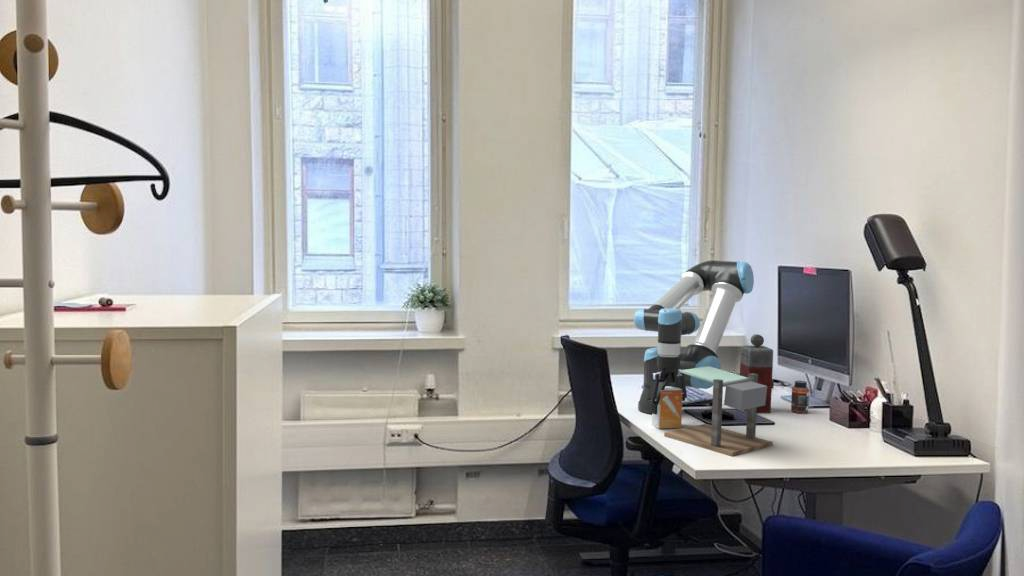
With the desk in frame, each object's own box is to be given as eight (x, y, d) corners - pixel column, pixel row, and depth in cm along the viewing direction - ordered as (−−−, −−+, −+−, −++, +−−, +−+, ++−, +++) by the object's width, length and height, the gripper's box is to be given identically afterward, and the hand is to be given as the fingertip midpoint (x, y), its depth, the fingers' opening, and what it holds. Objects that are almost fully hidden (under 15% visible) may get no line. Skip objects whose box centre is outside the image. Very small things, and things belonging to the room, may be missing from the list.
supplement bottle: (811, 413, 277) (813, 382, 276) (798, 414, 275) (799, 383, 275) (800, 409, 283) (802, 379, 282) (787, 410, 281) (788, 380, 280)
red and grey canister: (759, 405, 288) (762, 332, 286) (771, 413, 277) (774, 336, 275) (736, 405, 287) (738, 332, 285) (746, 413, 276) (749, 336, 274)
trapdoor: (706, 385, 250) (708, 365, 249) (767, 404, 232) (769, 383, 231) (678, 390, 242) (680, 369, 241) (738, 410, 224) (740, 388, 223)
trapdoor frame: (705, 427, 255) (707, 364, 253) (772, 445, 234) (775, 377, 233) (664, 436, 243) (666, 370, 241) (731, 456, 222) (734, 384, 221)
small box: (659, 429, 251) (660, 390, 250) (651, 424, 258) (652, 386, 257) (681, 428, 253) (683, 389, 252) (673, 423, 260) (674, 385, 258)
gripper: (682, 350, 263) (680, 414, 265) (636, 356, 250) (634, 423, 252) (699, 353, 257) (697, 419, 259) (654, 359, 244) (651, 428, 246)
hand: (666, 421), depth 255 cm, fingers closed on small box, 10 cm apart
